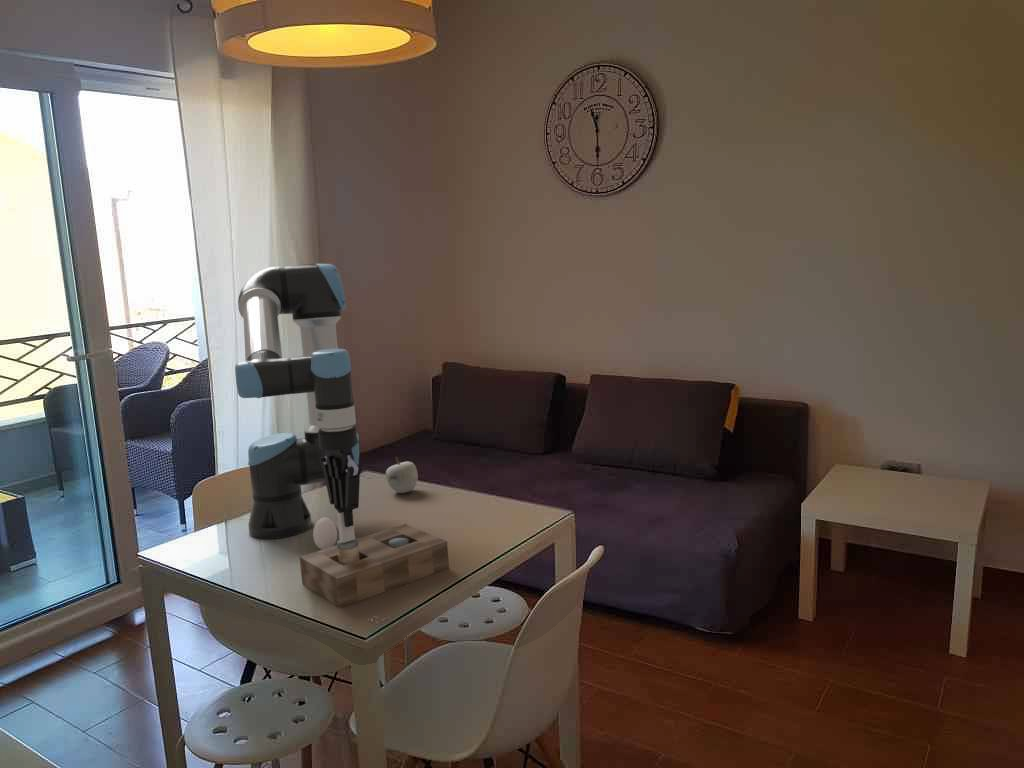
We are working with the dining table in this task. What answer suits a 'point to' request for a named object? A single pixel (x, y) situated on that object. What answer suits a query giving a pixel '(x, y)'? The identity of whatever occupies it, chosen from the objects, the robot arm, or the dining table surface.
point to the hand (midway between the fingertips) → (347, 540)
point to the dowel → (348, 551)
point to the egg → (325, 533)
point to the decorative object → (402, 476)
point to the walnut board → (374, 565)
